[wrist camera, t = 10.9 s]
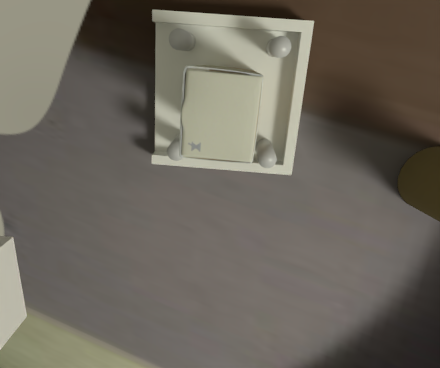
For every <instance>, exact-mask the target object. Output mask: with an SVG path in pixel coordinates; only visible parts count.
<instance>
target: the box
mask: <svg viewBox="0 0 440 368" xmlns="http://www.w3.org/2000/svg"><path fill="white" fill-rule="evenodd" d="M263 80H264V77H263V75H262V74H260V73H258V72H256V71H254V70H249V69H241V68H233V67H224V66H214V65H196V66H192V65H187V66H186V67H185V68H184V70H183V82H182V98H181V118H180V145H179V156H180V157H181V158H190V159H198V160H208V161H219V162H230V163H246V164H250V163H252V161H253V157H254V151H255V145H256V139H257V131H258V124H259V116H260V108H261V99H262V89H263Z"/></svg>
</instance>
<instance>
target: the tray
mask: <svg viewBox="0 0 440 368" xmlns="http://www.w3.org/2000/svg"><path fill="white" fill-rule="evenodd" d="M152 21H153V22H155V23H156V46H155V152H154V153H153V154H152V164H160V165H172V166H185V167H197V168H209V169H222V170H234V171H247V172H259V173H271V174H284V175H292V168H293V161H294V154H295V148H296V141H297V134H298V127H299V120H300V114H301V107H302V100H303V93H304V86H305V80H306V73H307V66H308V59H309V52H310V46H311V39H312V32H313V25H314V21H307V20H293V19H279V18H265V17H251V16H237V15H223V14H209V13H195V12H181V11H167V10H153V9H152ZM187 65H192V66H196V65H214V66H224V67H233V68H241V69H249V70H254V71H256V72H258V73H260V74H262V75H263V77H264V80H263V89H262V99H261V108H260V116H259V124H258V131H257V139H256V145H255V151H254V157H253V161H252V163H250V164H246V163H230V162H219V161H208V160H198V159H190V158H181V157H180V156H179V145H180V118H181V98H182V82H183V70H184V68H185V67H186V66H187Z"/></svg>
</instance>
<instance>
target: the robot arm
mask: <svg viewBox="0 0 440 368" xmlns="http://www.w3.org/2000/svg"><path fill="white" fill-rule="evenodd" d="M26 317H27V314H26V308H25V303H24V297H23V291H22V286H21V280H20V274H19V268H18V263H17V257H16V251H15V246H14V240H13V237H4V236H0V349H1V348H2V347H3V346H4V344H5V343H6V342H7V341H8V339H9V338H10V337H11V336H12V334H13V333H14V332H15V331H16V329H17V328H18V327H19V326H20V324H21V323H22V322H23V321H24V319H25V318H26Z"/></svg>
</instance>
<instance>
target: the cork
mask: <svg viewBox="0 0 440 368" xmlns="http://www.w3.org/2000/svg"><path fill="white" fill-rule="evenodd" d="M398 190H399V193H400V196H401V197H402V198H403V199H404V201H405V202H406V203H407V204H409V205H411V206H413V207H415V208H416V209H418V210H420V211H422V212H424V213H425V214H427V215H429V216H431V217H433V218H434V219H436V220H438V221H440V146H438V147H429V148H426V149H424V150H421V151H419V152H417V153H416V154H414V155H413V156H412V157H411V158H409V159H408V160H407V162H406V163H405V164H404V166H403V167H402V168H401V171H400V174H399V176H398Z"/></svg>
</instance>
